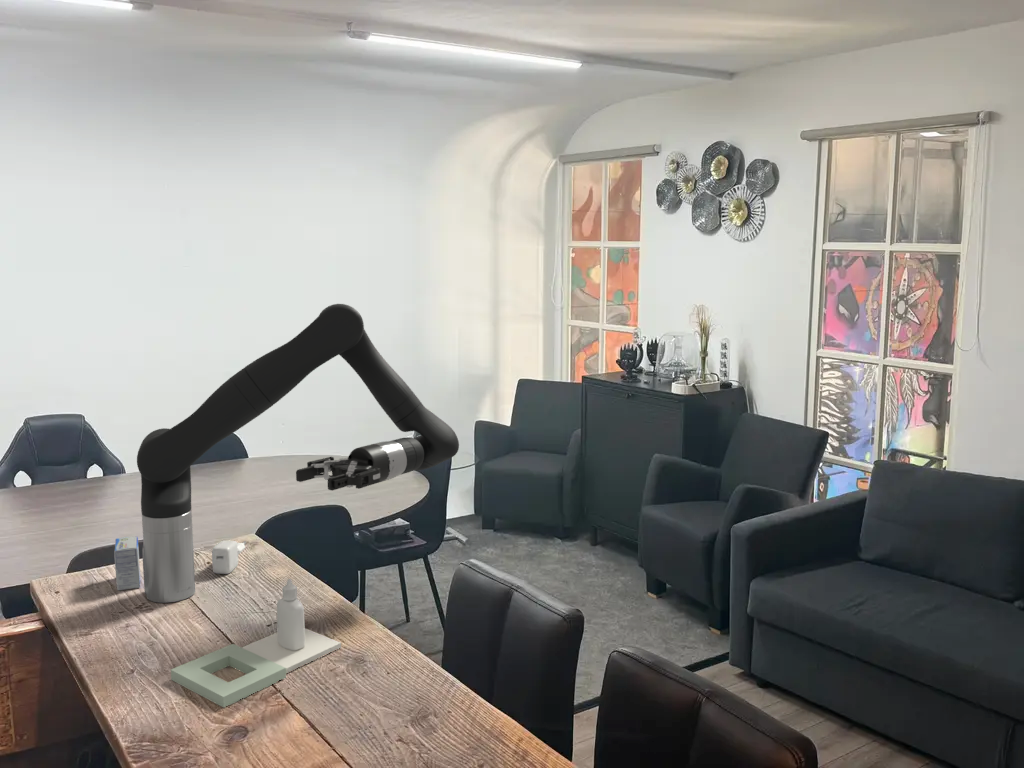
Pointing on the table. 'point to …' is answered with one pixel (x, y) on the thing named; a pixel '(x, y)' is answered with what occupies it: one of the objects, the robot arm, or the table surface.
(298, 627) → the eye dropper bottle
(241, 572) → the table surface
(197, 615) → the table surface
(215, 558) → the power adapter
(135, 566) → the medicine box
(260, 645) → the tile
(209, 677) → the holder
